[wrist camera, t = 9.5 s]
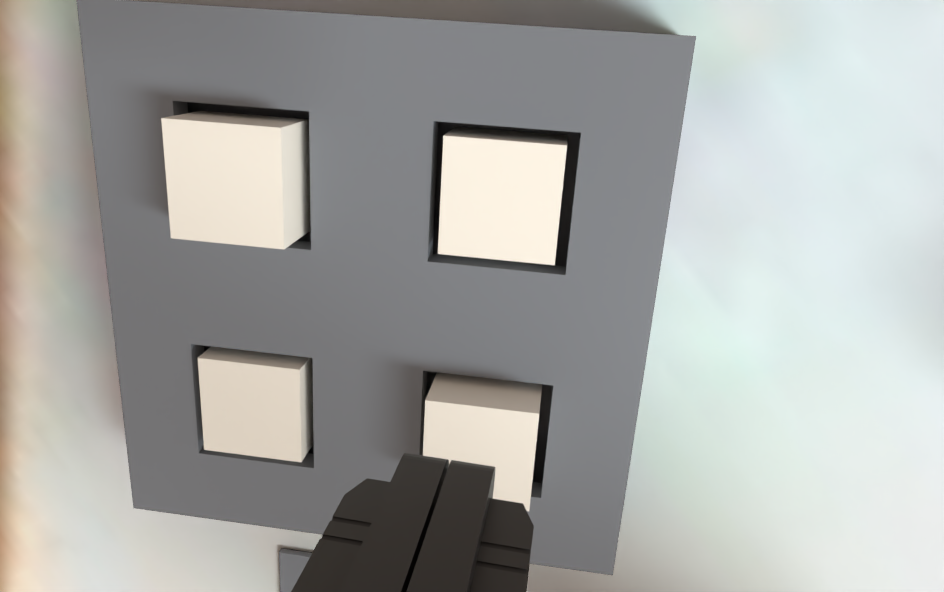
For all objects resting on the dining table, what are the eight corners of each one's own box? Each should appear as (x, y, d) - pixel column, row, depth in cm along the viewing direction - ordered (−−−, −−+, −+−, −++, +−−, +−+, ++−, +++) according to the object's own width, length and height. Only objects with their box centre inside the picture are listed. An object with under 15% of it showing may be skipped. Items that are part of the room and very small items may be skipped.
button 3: (568, 135, 26) (567, 145, 23) (556, 244, 27) (554, 265, 25) (455, 126, 26) (443, 135, 24) (450, 235, 28) (437, 253, 25)
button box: (680, 36, 25) (695, 36, 22) (608, 520, 32) (612, 575, 29) (136, 2, 27) (76, -4, 24) (176, 463, 34) (133, 507, 31)
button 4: (308, 119, 26) (280, 127, 23) (310, 230, 27) (284, 249, 24) (199, 111, 26) (161, 118, 24) (206, 220, 27) (171, 238, 25)
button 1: (542, 381, 28) (539, 413, 25) (533, 472, 29) (529, 511, 27) (438, 369, 28) (425, 400, 26) (433, 459, 29) (420, 497, 27)
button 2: (322, 342, 30) (299, 369, 27) (322, 429, 31) (301, 462, 29) (228, 332, 30) (197, 357, 28) (232, 418, 32) (204, 449, 29)
